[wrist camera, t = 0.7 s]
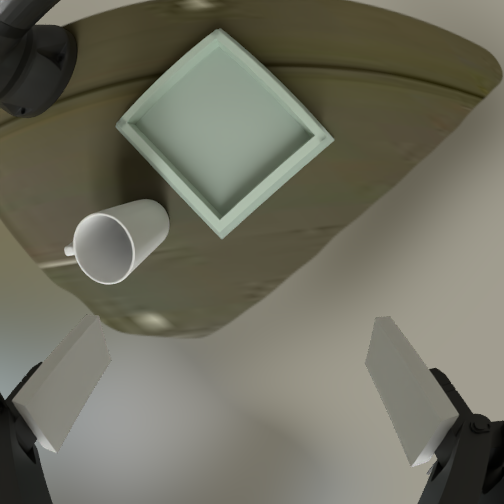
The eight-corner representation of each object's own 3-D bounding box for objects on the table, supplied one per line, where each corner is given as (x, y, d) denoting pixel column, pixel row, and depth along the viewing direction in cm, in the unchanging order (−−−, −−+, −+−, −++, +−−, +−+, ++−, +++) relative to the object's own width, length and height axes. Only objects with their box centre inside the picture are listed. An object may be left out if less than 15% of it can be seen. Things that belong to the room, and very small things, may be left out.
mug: (168, 193, 35) (127, 207, 23) (176, 246, 36) (141, 282, 25) (99, 204, 35) (44, 222, 23) (108, 252, 37) (59, 286, 25)
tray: (116, 127, 32) (106, 124, 29) (220, 29, 28) (217, 19, 26) (222, 238, 36) (219, 245, 33) (333, 140, 32) (340, 138, 30)
